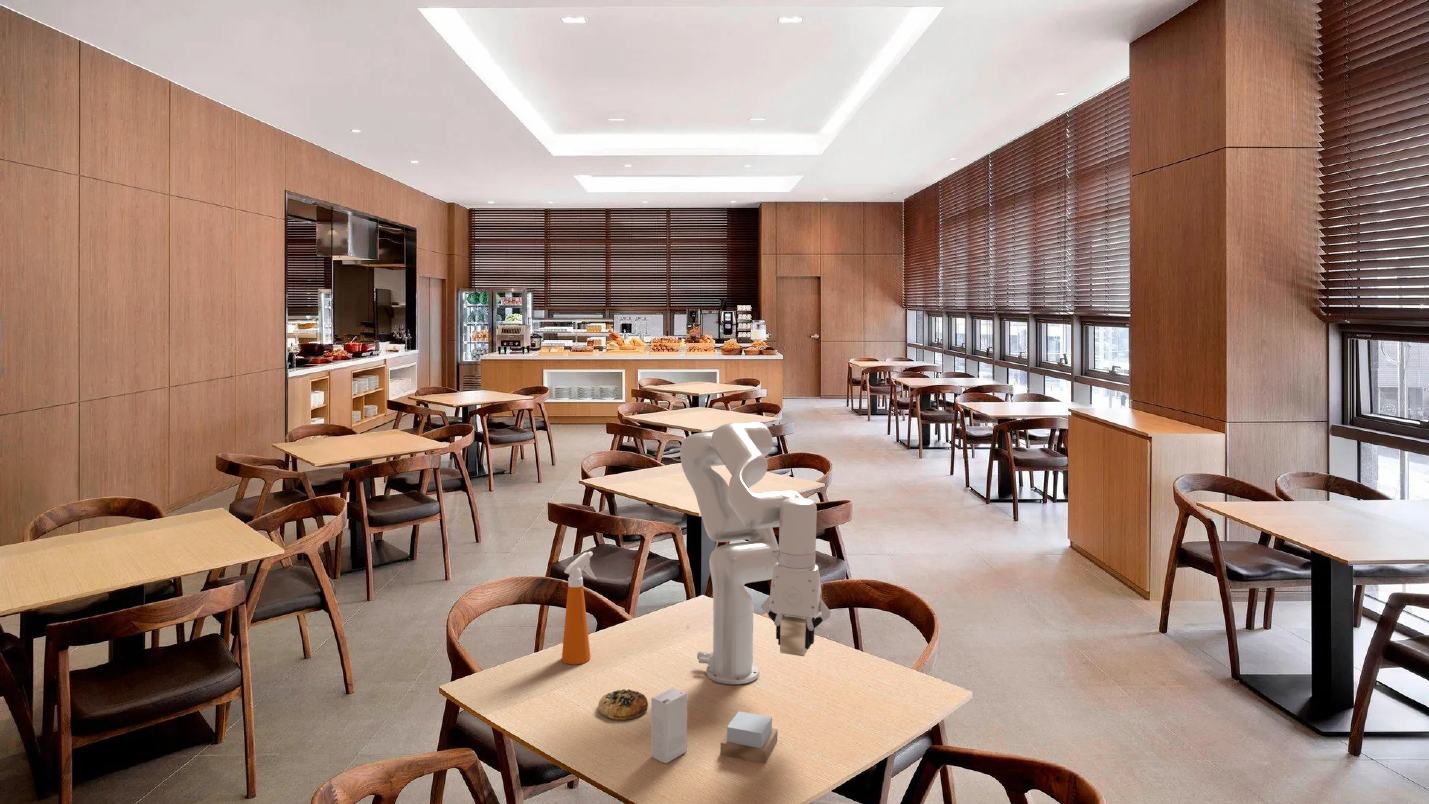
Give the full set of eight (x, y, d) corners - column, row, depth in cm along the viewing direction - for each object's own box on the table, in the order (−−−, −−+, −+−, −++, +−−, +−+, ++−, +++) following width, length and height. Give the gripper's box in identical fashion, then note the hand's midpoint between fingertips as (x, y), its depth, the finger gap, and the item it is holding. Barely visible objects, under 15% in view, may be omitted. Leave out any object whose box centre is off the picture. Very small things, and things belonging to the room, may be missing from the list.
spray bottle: (606, 653, 207) (606, 551, 205) (576, 667, 198) (575, 561, 196) (586, 647, 211) (585, 547, 209) (555, 660, 203) (554, 556, 200)
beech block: (779, 652, 167) (780, 619, 166) (785, 643, 172) (786, 611, 171) (803, 656, 166) (804, 623, 165) (809, 647, 170) (810, 614, 170)
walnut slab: (720, 757, 158) (720, 742, 157) (734, 736, 166) (734, 722, 166) (765, 766, 155) (765, 750, 154) (777, 743, 163) (777, 729, 163)
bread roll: (656, 702, 180) (654, 681, 179) (635, 731, 170) (633, 709, 169) (611, 696, 184) (609, 676, 183) (588, 724, 174) (585, 703, 173)
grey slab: (726, 741, 158) (727, 727, 157) (738, 725, 164) (738, 711, 164) (761, 748, 155) (761, 733, 155) (771, 731, 162) (772, 717, 162)
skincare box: (671, 745, 161) (671, 686, 160) (688, 752, 158) (688, 692, 157) (649, 757, 156) (649, 696, 155) (666, 765, 154) (666, 703, 153)
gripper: (751, 559, 166) (750, 645, 168) (834, 568, 160) (832, 657, 162) (761, 549, 173) (760, 632, 175) (841, 558, 168) (839, 644, 169)
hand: (794, 643), depth 169 cm, fingers closed on beech block, 5 cm apart
